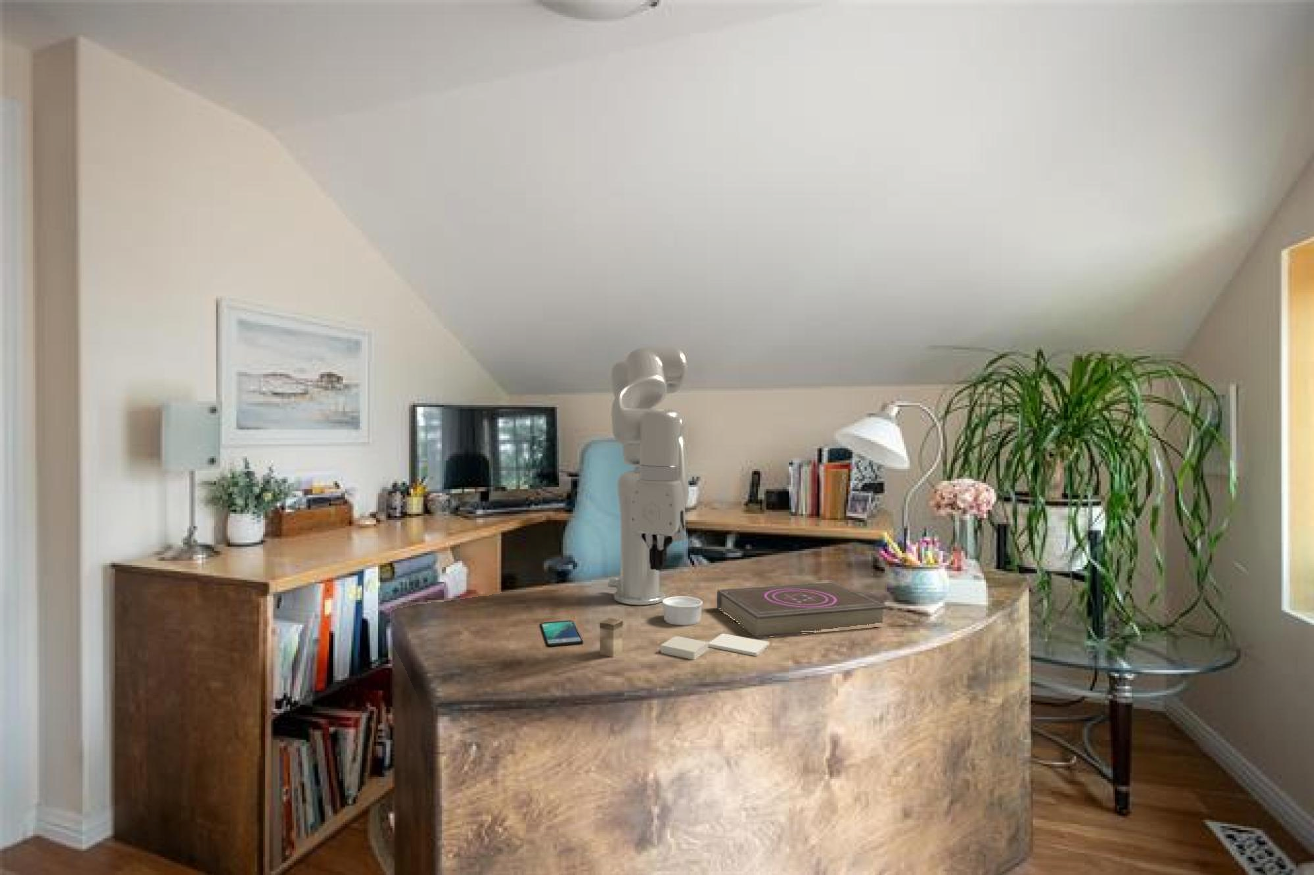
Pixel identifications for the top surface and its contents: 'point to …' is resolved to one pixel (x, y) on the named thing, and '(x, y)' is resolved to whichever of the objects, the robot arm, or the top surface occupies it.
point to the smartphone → (560, 633)
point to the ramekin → (682, 610)
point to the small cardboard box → (611, 637)
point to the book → (798, 608)
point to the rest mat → (739, 644)
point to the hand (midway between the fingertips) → (657, 568)
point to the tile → (684, 647)
